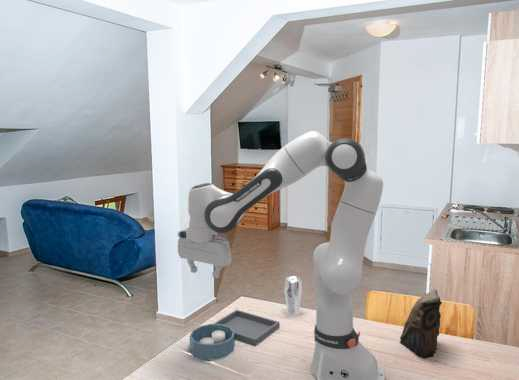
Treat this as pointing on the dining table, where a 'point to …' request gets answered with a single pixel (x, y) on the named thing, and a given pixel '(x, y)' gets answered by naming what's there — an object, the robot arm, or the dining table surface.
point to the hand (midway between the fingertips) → (204, 274)
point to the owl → (423, 326)
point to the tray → (249, 326)
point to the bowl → (211, 350)
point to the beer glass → (293, 295)
